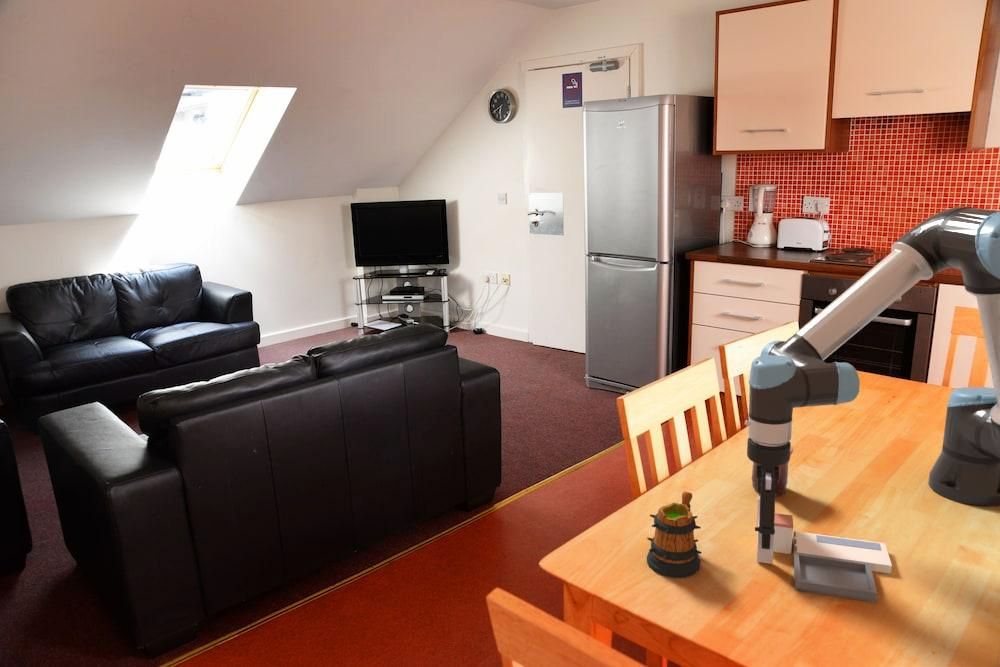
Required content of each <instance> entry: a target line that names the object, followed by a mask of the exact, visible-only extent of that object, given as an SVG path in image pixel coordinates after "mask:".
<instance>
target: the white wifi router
mask: <svg viewBox="0 0 1000 667" xmlns="http://www.w3.org/2000/svg"><path fill="white" fill-rule="evenodd" d="M792 545H793V553H794V552H797V553H804V554H811V555H818V556H825V557H832V558H839V559H846V560H853V561H860V562H867V563H870V567H871V571H872V572H875V573H883V574H890V575H891V574H892V570H893V569H892V568H893V565H892V562H891V559H890V556H889V553H888V552H889V551H888V549H887V546H886V542H879V541H873V540H865V539H864V540H863V539H855V538H847V537H841V536H834V535H825V534H818V533H812V532H805V531H795V530H793V536H792Z"/></svg>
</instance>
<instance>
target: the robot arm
mask: <svg viewBox="0 0 1000 667" xmlns="http://www.w3.org/2000/svg"><path fill="white" fill-rule="evenodd" d="M946 269H947V270H948V269H955V270H959V271H960V272H961V275H962V280H963V286H964V289H965V291H966V292H967V293H968V294H970V295H972V296H974V297H975V298H976V301H977V306H978V311H979V312H978V313H979V318H980V323H981V327H982V333H983V338H984V343H985V348H986V353H987V359H988V363H989V368H990V374H991V380H992V384H993V387H987V386H986V387H984V386H967V387H966V386H965V387H959V388H956V389H954V390H953V391H952V392H951V393H950V395H949V399H948V403H947V405H946V412H945V413H946V414H945V415H946V416H945V424H944V431H943V441H942V447H941V448H942V449H941V452H940V454H939V456H938V457H937V459H936V461H935V463H934V464H933V466H932V468H931V470H930V471H929V475H928V482H927V483H928V486H929V487H930V489H931V490H933V491H934V492H935V493H937V494H939V495H940V496H942V497H944V498H947V499H950V500H952V501H956V502H960V503H963V504H967V505H973V506H974V505H975V506H982V507H983V506H984V507H990V506H1000V210H993V209H986V208H976V207H972V206H957V207H952V208H948V209H945V210H943V211H942V210H941V211H939V212H938V213H936V214H933V215H931V216H929V217H928V218H926V219H924V220H922V221H921V222H920V223H918V224H917V225H916V226H914V227H912V228H911V229H909V230H908V231H907V232H906V233H904V235H902V236H901V237H899V239H897V240H896V241H895V242H894V243H892V245H891V252H890V253H889V254H888V255H886V256H885V257H884V258H883V259H882V260H881V261H879V262H878V263H876V264H875V266H873V267H872V268H871V269H870V270H869V271H868V272H866V273H865V274H864V275H863V276H862V277H861V278H859V279H858V280H857V281H855V282H854V283H853V284H852V285H851V286H850V287H848V288H847V289H846V290H845V291H844V292H843V293H842V294H840V295H839V296H837V298H835V300H833V301H832V302H831V303H830V304H828V305H827V306H826V307H825V308H824V309H823V310H821V311H820V312H819V313H817V315H815V316H814V317H813V318H812V319H811V320H809V321H808V322H807V323H806V324H805V325H803V326H802V328H800V329H799V330H798V331H796V333H795V332H794V334H793V335H792V336H790V337H789V338H788V339H787V340H785V341H784V340H774V341H771V342H769V343H768V344H766V345H765V346H764V347H763V349H762V350H761V352H760V354H759V355H760V356H757V357H756V358H754V359H753V360H752V361H751V362H752V363H751V364H750V365H751V367H750V375H749V381H748V384H749V395H748V396H749V399H748V401H749V402H748V420H745V421H744V425H745V426H748V427H747V428H748V430H747V431H748V433H747V435H748V438H747V444H746V446H747V447H746V455H747V458H748V460H750V461H751V462H755V463H758V464H760V465H758V464H757V466H756V473H757V475H756V478H757V480H758V489H757V491H756V492H757V495H758V496H757V509H756V510H757V512H756V513H757V514H756V526H755V527H754V531H755V532H757V535H758V546H757V545H756V548H757V549H756V550H757V551H756V562H757V563H765V564H770V565H773V563H774V562H773V560H774V552H773V544H774V533H775V530H774V519H775V513H776V512H775V511H776V496H778V495H777V483H778V481H779V466H778V465H784V464H786V463H787V462H788V461H789V462H790V460H791V457H790V447H791V446H792V445H791V444H792V443H791V442H790V441H792V433H793V431H792V430H793V412H794V411H793V410H794V408H795V409H796V408H805V407H818V406H819V407H820V406H829V405H834V406H838V405H840V404H847V403H851V402H854V400H856V399H857V398H858V395H859V393H860V384H861V381H860V377H859V373H858V371H857V370H856V368H855V367H854V366H853V365H852V364H850V363H849V362H837V361H834V362H830V363H829V362H825V360H826V359H827V358H828V357H829V356H830V355H832V354H833V353H834V352H835V351H837V350H838V349H839V348H840V347H841V346H842V345H844V344H845V343H846V342H847V341H849V340H850V339H852V337H854V336H855V335H856V334H857V333H858V332H860V331H861V330H862V329H863V328H864V327H865V326H867V325H868V324H869V323H871V321H873V320H874V319H875V318H876V317H877V316H879V315H880V314H881V313H882V312H884V310H886V309H887V308H889V306H891V305H892V304H893V303H894V302H896V301H897V300H898V299H899V298H900V297H902V296H903V295H904V294H905V293H907V292H908V291H909V290H911V289H912V287H914V286H915V285H916V284H918V282H920V281H921V280H924V281H928V280H930V279H932V278H933V277H934V276H935V275H936V274H938V273H940V272H942V271H944V270H946ZM759 511H760V521H759ZM758 521H759V527H758Z"/></svg>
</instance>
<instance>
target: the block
mask: <svg viewBox="0 0 1000 667" xmlns="http://www.w3.org/2000/svg"><path fill="white" fill-rule="evenodd" d="M793 517H794V516H793V515H792V514H784V513H783V514H782V513H777V512H775V519H774V530H775V533H774V544H773V553H780V554H781V553H782V554H787V555H788V554H789V555H791V554H792V547H793V546H792V545H793V533H794V518H793ZM759 521H760V511H759ZM759 521H758V527H759ZM756 537H757V538H756V540H757V542H756V543H757V545H756V547H757V546H758V534H757V536H756Z"/></svg>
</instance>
